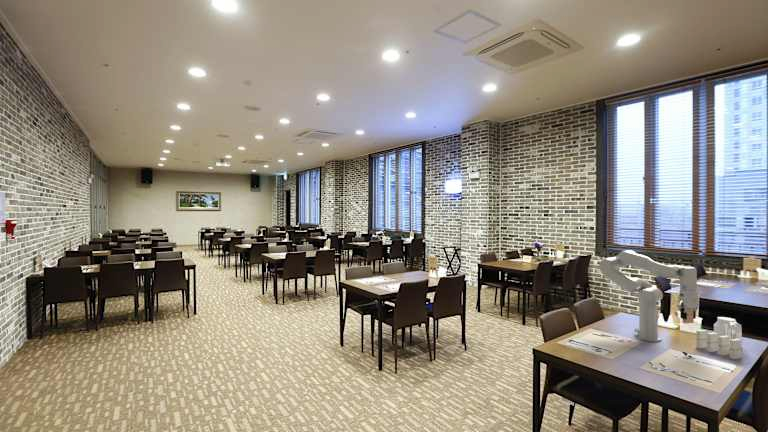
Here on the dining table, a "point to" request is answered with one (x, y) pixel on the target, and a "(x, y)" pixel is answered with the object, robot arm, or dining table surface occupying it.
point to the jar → (722, 325)
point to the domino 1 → (689, 316)
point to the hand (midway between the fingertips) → (688, 318)
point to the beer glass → (733, 331)
